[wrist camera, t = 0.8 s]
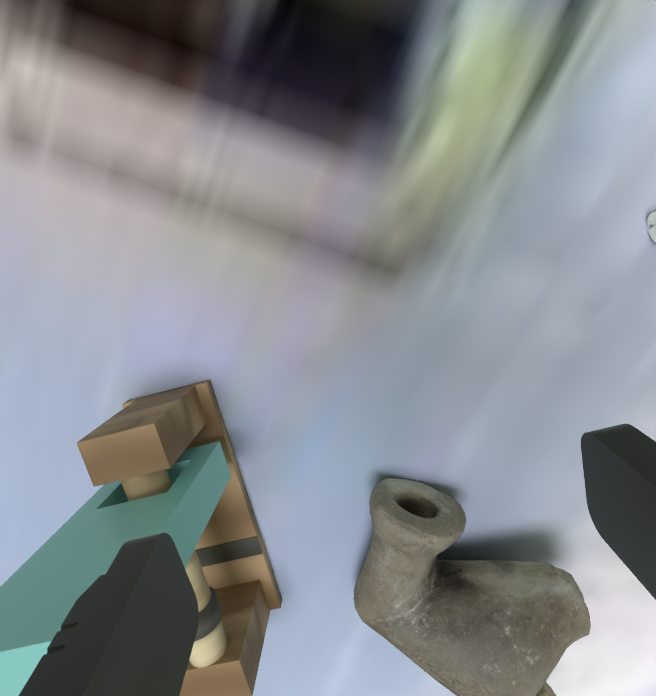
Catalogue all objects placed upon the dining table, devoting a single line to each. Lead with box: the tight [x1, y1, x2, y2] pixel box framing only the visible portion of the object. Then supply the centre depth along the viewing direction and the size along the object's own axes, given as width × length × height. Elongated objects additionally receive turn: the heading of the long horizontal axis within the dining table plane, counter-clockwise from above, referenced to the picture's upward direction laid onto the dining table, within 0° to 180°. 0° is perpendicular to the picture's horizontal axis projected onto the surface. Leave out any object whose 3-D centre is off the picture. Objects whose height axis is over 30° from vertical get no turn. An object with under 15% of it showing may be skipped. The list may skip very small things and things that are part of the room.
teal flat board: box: [0, 441, 231, 696], centre depth 24 cm, size 2×6×16 cm, turn 105°
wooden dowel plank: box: [77, 380, 282, 696], centre depth 30 cm, size 18×6×8 cm, turn 15°
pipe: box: [354, 478, 591, 696], centre depth 32 cm, size 16×9×15 cm
